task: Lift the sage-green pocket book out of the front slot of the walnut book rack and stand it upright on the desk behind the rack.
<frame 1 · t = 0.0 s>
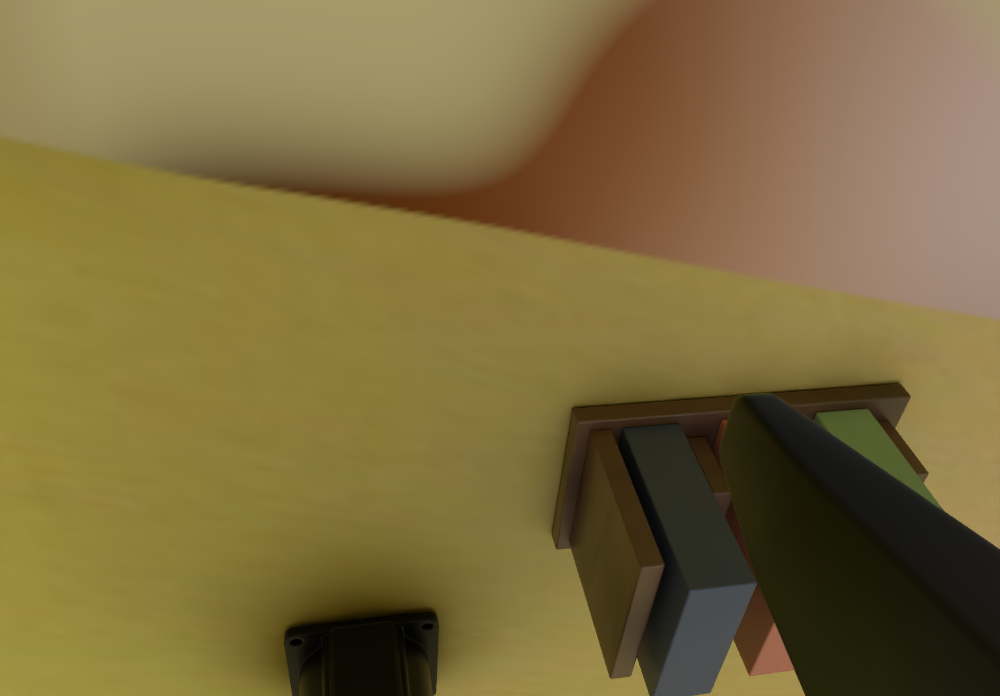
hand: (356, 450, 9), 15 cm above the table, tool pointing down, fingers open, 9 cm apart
sage-green book: (816, 467, 34), point 1 cm above the table, touching book rack
navy book: (636, 484, 33), point 1 cm above the table, touching book rack
terracotta book: (728, 475, 34), point 1 cm above the table, touching book rack
book rack: (720, 461, 34), on the table
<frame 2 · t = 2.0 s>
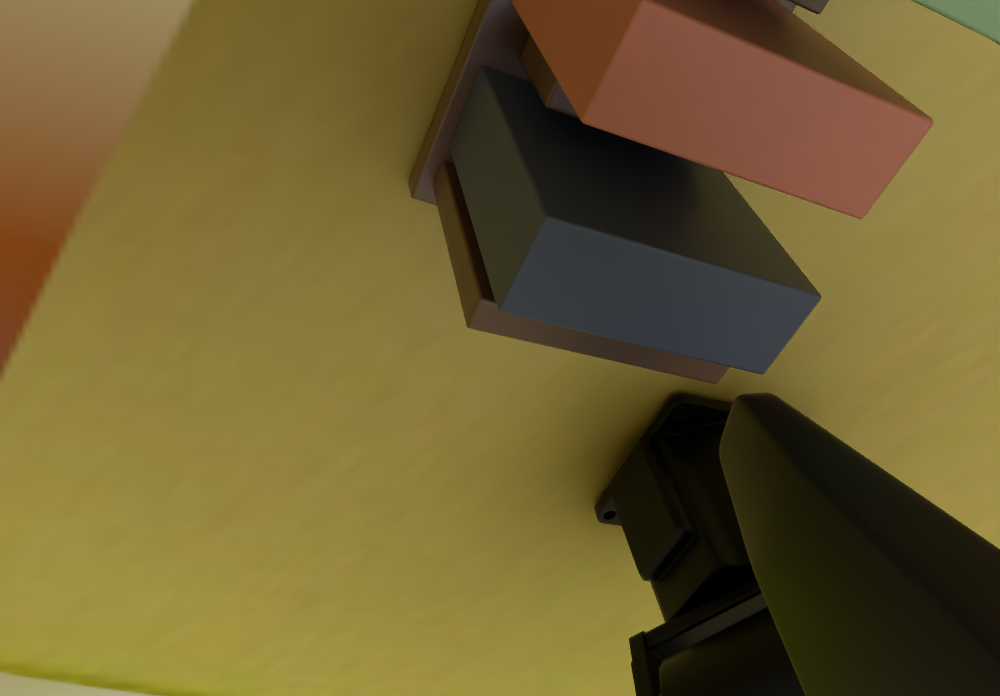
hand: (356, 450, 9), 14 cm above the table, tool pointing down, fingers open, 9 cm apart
navy book: (578, 144, 22), point 1 cm above the table, touching book rack
terracotta book: (649, 1, 20), point 1 cm above the table, touching book rack
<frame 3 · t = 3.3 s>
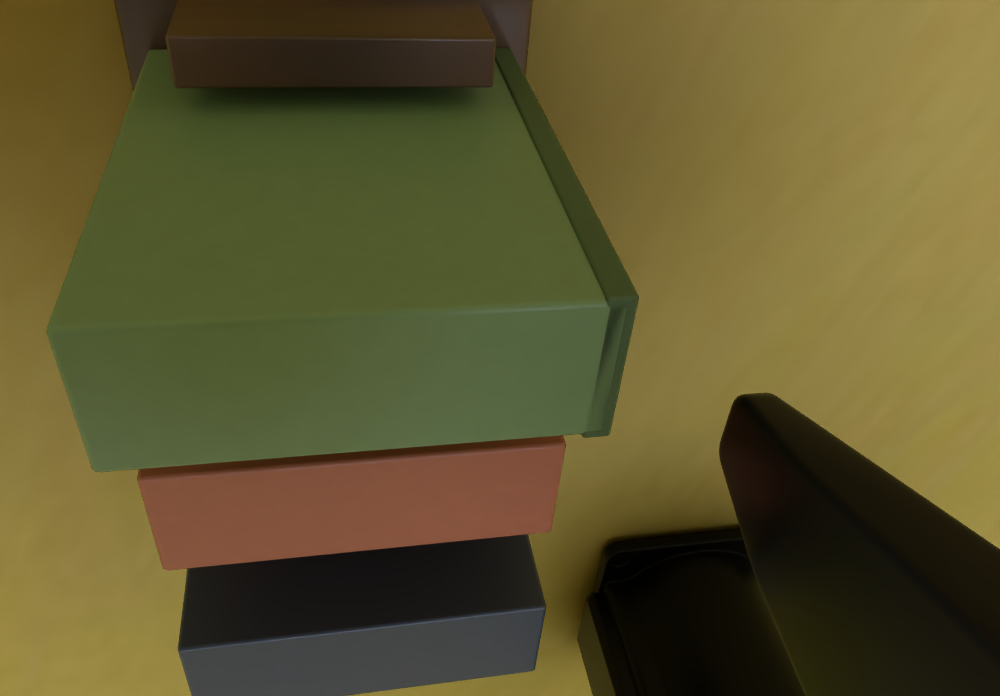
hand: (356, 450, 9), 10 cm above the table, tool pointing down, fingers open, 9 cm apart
sage-green book: (337, 106, 16), point 1 cm above the table, touching book rack
navy book: (352, 402, 21), point 1 cm above the table, touching book rack
terracotta book: (346, 273, 18), point 1 cm above the table, touching book rack
book rack: (344, 253, 19), on the table
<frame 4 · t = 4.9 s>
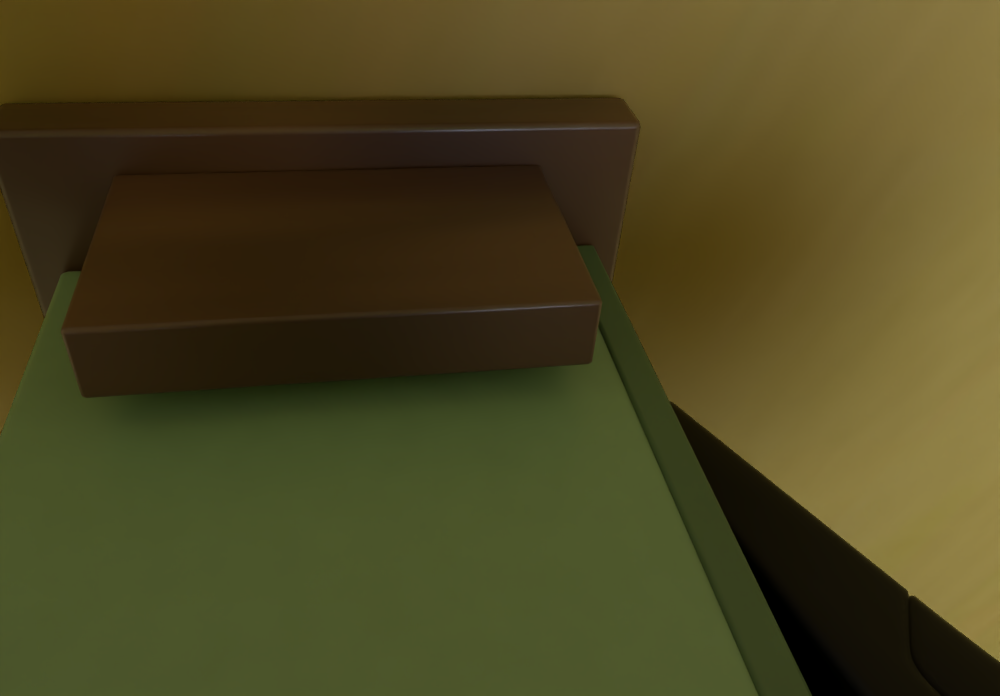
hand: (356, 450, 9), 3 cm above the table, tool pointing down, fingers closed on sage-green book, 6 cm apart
sage-green book: (343, 327, 11), point 1 cm above the table, touching book rack, gripper
book rack: (354, 478, 14), on the table
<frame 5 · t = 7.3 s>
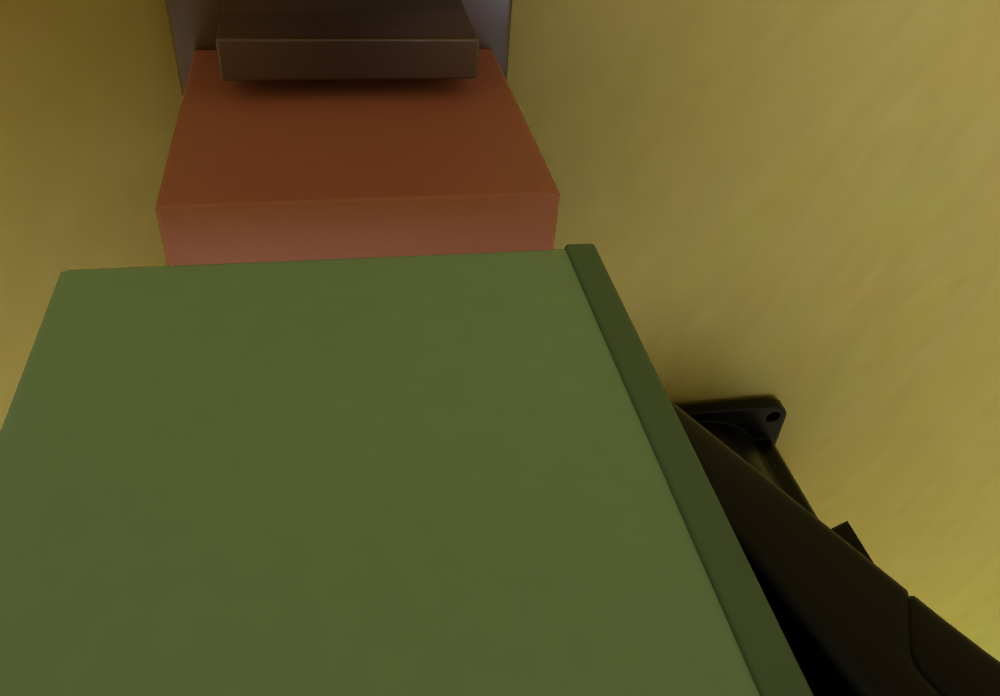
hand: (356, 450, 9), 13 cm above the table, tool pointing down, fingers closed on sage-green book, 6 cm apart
sage-green book: (343, 326, 11), point 11 cm above the table, touching gripper
terracotta book: (349, 96, 19), point 1 cm above the table, touching book rack
book rack: (348, 82, 20), on the table
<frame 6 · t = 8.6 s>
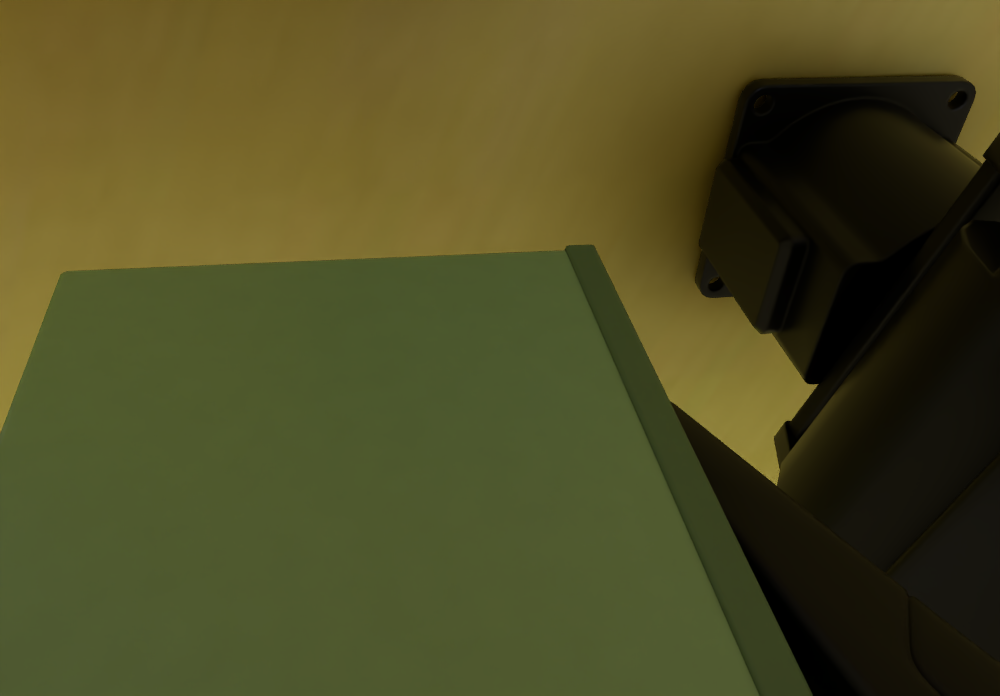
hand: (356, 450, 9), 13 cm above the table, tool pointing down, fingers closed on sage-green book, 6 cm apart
sage-green book: (343, 327, 11), point 10 cm above the table, touching gripper
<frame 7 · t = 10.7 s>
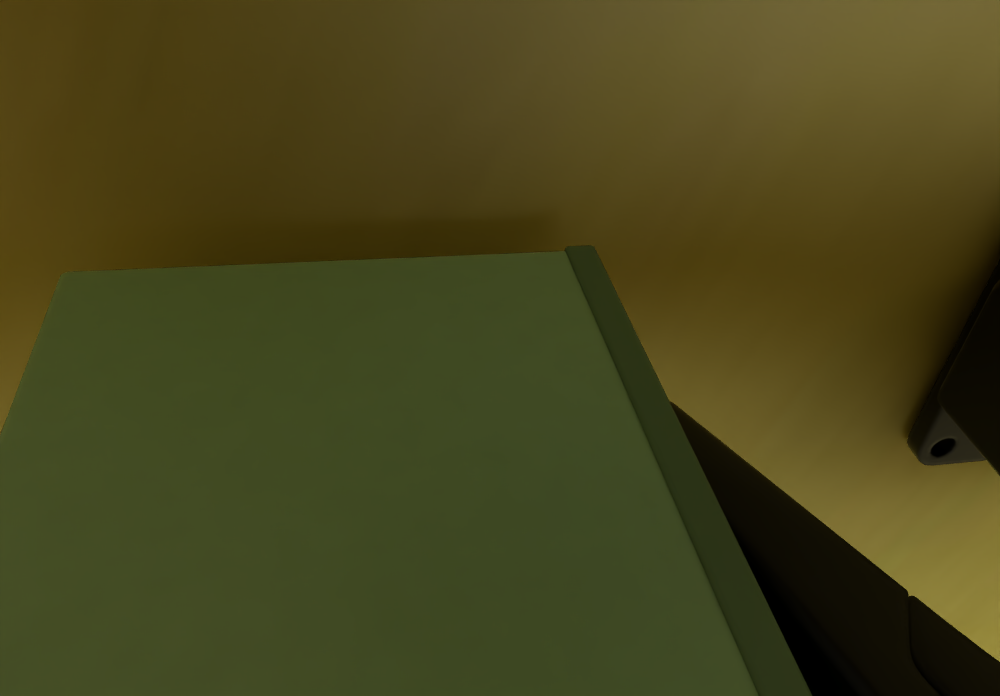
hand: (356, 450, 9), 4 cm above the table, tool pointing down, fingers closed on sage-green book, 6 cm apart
sage-green book: (343, 328, 11), point 1 cm above the table, touching gripper
when the fingers open (2 cm above the table, at t = 11.7 s): sage-green book stays where it is, on the table.
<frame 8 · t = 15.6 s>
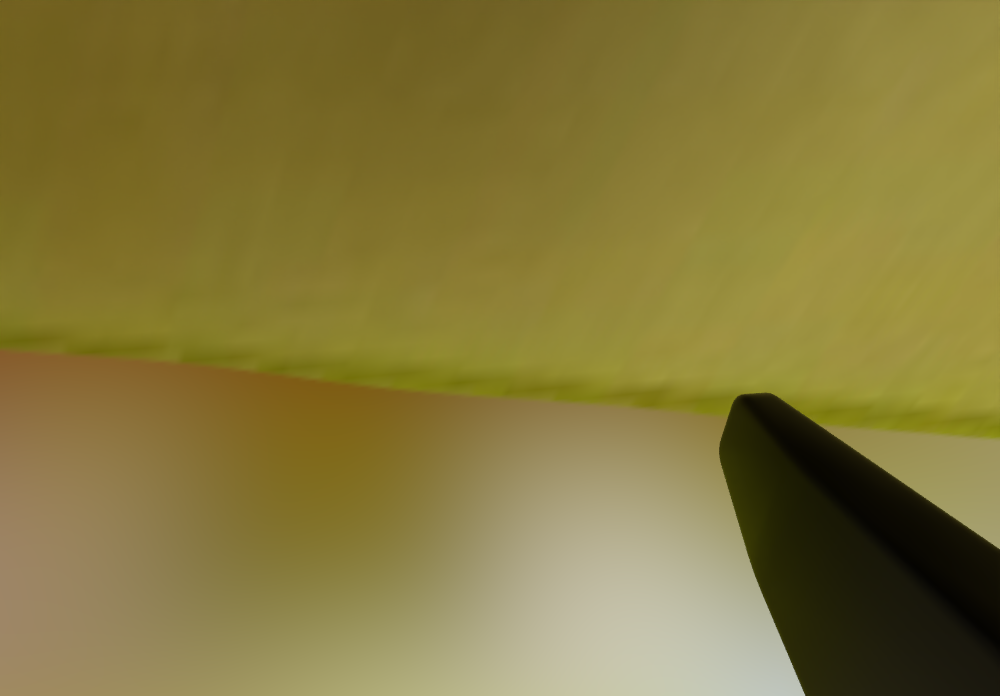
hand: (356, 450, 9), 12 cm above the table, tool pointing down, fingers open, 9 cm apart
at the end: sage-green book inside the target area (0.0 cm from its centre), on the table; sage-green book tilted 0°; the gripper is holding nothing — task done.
